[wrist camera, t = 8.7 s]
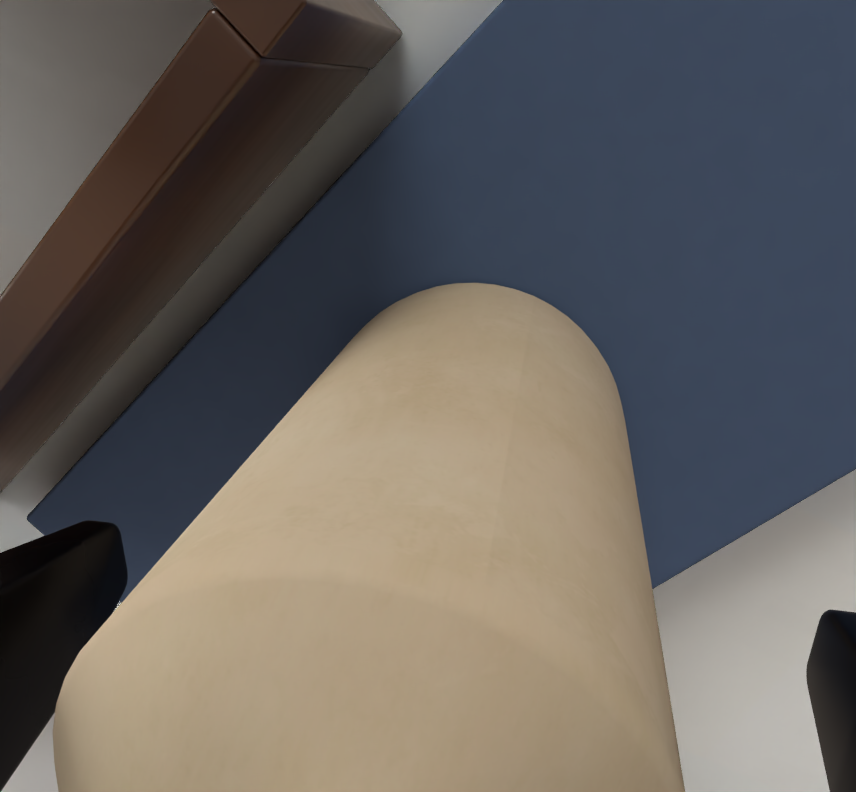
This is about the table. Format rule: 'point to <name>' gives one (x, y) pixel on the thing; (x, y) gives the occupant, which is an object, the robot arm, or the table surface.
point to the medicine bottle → (36, 766)
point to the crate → (171, 195)
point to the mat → (566, 262)
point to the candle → (400, 586)
